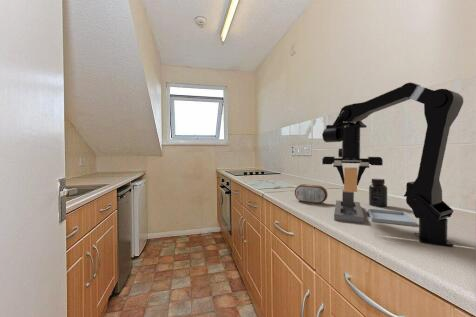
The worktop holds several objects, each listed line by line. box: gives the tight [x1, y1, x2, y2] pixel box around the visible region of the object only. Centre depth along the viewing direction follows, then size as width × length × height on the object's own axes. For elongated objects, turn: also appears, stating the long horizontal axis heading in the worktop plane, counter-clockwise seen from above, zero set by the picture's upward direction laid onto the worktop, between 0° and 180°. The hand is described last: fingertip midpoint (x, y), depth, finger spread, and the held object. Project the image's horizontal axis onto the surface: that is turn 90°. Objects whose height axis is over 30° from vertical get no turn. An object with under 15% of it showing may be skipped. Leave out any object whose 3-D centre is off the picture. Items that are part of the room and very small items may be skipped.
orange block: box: [343, 166, 358, 193], centre depth 79 cm, size 6×4×8 cm, turn 153°
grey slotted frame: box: [333, 199, 365, 224], centre depth 85 cm, size 24×9×2 cm, turn 154°
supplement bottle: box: [368, 178, 388, 208], centre depth 96 cm, size 7×7×12 cm
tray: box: [367, 207, 417, 227], centre depth 78 cm, size 14×12×2 cm
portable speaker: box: [294, 183, 328, 205], centre depth 105 cm, size 15×3×8 cm, turn 58°
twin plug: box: [342, 189, 355, 207], centre depth 90 cm, size 6×4×8 cm, turn 154°
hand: (350, 184), depth 79 cm, fingers closed on orange block, 4 cm apart
